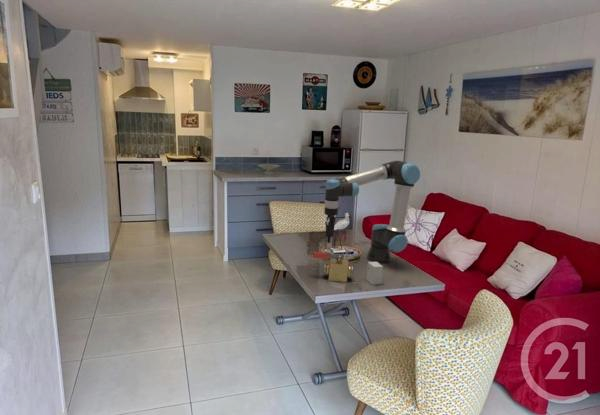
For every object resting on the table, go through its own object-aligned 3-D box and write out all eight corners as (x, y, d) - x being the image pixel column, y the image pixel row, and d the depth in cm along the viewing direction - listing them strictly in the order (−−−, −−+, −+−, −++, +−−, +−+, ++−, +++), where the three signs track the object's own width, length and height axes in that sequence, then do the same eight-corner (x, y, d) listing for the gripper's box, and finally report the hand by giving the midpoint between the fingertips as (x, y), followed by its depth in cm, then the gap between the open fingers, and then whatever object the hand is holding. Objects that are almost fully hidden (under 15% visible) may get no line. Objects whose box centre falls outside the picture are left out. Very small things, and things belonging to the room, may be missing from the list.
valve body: (350, 276, 236) (351, 257, 234) (350, 282, 227) (352, 263, 225) (325, 274, 237) (327, 255, 235) (324, 280, 228) (326, 260, 226)
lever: (343, 258, 232) (343, 253, 231) (343, 260, 227) (343, 256, 227) (313, 255, 233) (313, 251, 233) (313, 258, 229) (313, 253, 228)
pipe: (351, 276, 235) (353, 263, 233) (352, 281, 228) (353, 268, 226) (323, 273, 236) (324, 260, 235) (323, 278, 229) (324, 265, 227)
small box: (381, 284, 228) (383, 266, 225) (372, 285, 226) (374, 266, 224) (374, 278, 235) (376, 261, 233) (365, 279, 233) (367, 261, 231)
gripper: (328, 204, 239) (326, 243, 244) (321, 208, 227) (319, 249, 232) (340, 205, 236) (338, 245, 241) (334, 210, 224) (332, 251, 229)
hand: (329, 247), depth 237 cm, fingers closed
